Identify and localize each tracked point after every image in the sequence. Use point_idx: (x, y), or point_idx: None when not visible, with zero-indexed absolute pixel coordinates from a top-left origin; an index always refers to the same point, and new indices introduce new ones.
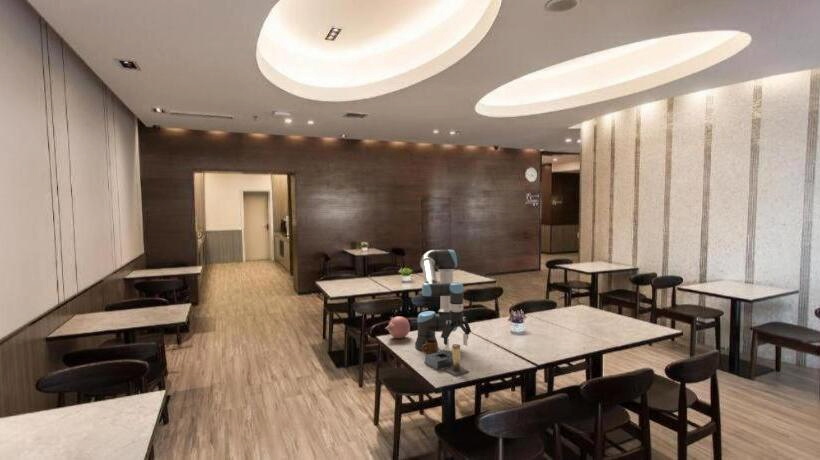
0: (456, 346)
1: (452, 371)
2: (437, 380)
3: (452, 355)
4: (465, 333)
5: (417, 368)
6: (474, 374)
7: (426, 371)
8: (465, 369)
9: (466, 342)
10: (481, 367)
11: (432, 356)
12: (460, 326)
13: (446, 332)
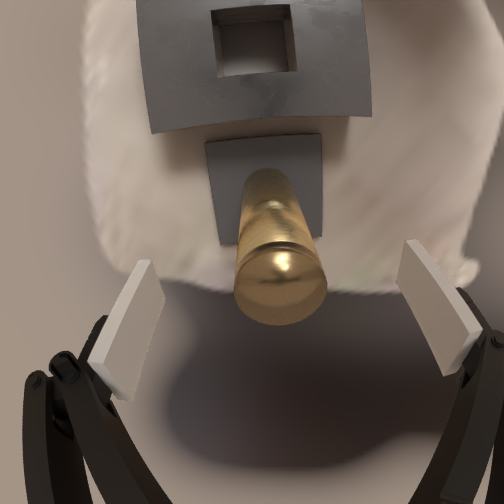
0: (264, 313)
1: (234, 200)
2: (121, 238)
3: (239, 228)
4: (472, 350)
5: (85, 64)
6: (326, 263)
7: (108, 117)
8: (320, 212)
9: (409, 305)
10: (414, 216)
11: (172, 26)
12: (428, 495)
13: (77, 472)
